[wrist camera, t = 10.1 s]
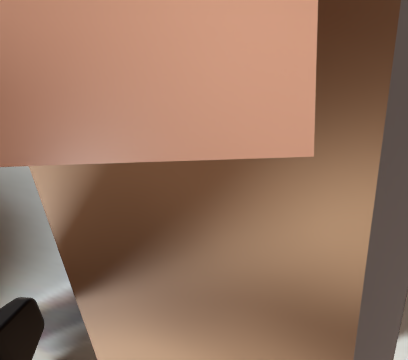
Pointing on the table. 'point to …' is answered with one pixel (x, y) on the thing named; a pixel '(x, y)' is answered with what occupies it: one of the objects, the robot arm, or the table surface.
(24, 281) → the table surface
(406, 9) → the dock
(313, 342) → the pallet
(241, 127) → the block
